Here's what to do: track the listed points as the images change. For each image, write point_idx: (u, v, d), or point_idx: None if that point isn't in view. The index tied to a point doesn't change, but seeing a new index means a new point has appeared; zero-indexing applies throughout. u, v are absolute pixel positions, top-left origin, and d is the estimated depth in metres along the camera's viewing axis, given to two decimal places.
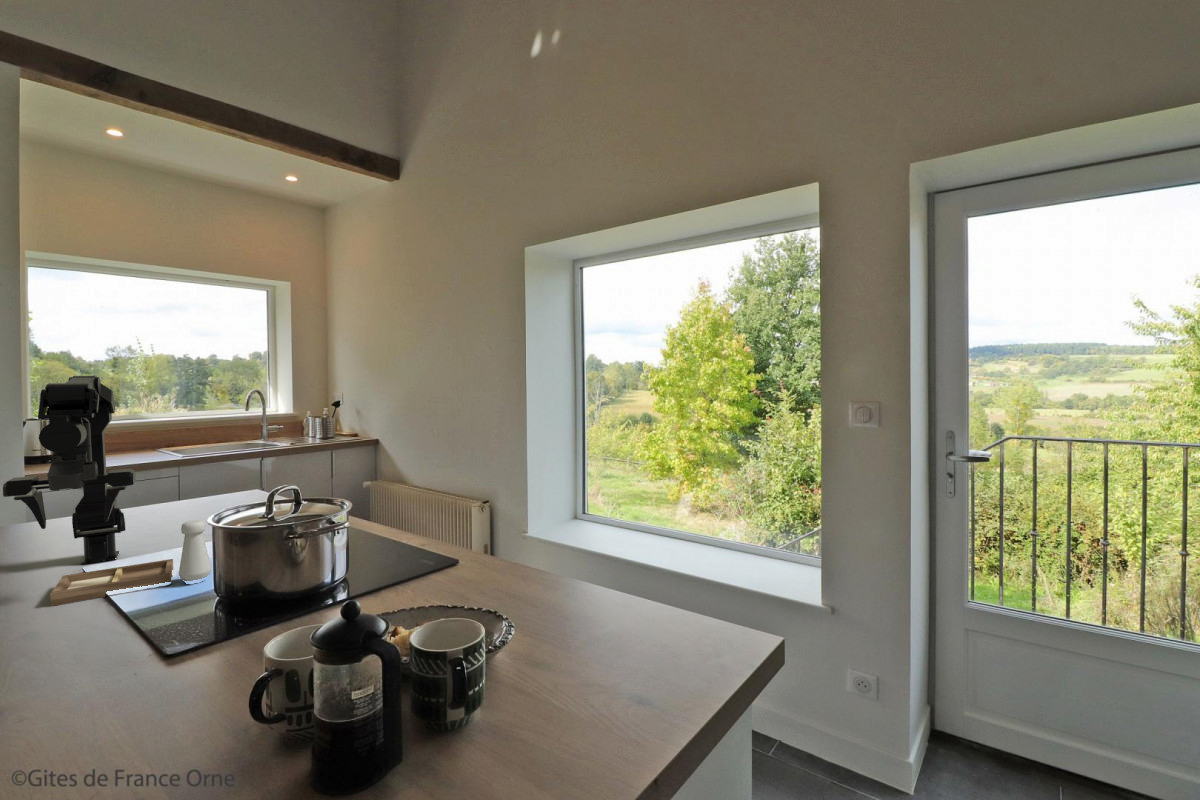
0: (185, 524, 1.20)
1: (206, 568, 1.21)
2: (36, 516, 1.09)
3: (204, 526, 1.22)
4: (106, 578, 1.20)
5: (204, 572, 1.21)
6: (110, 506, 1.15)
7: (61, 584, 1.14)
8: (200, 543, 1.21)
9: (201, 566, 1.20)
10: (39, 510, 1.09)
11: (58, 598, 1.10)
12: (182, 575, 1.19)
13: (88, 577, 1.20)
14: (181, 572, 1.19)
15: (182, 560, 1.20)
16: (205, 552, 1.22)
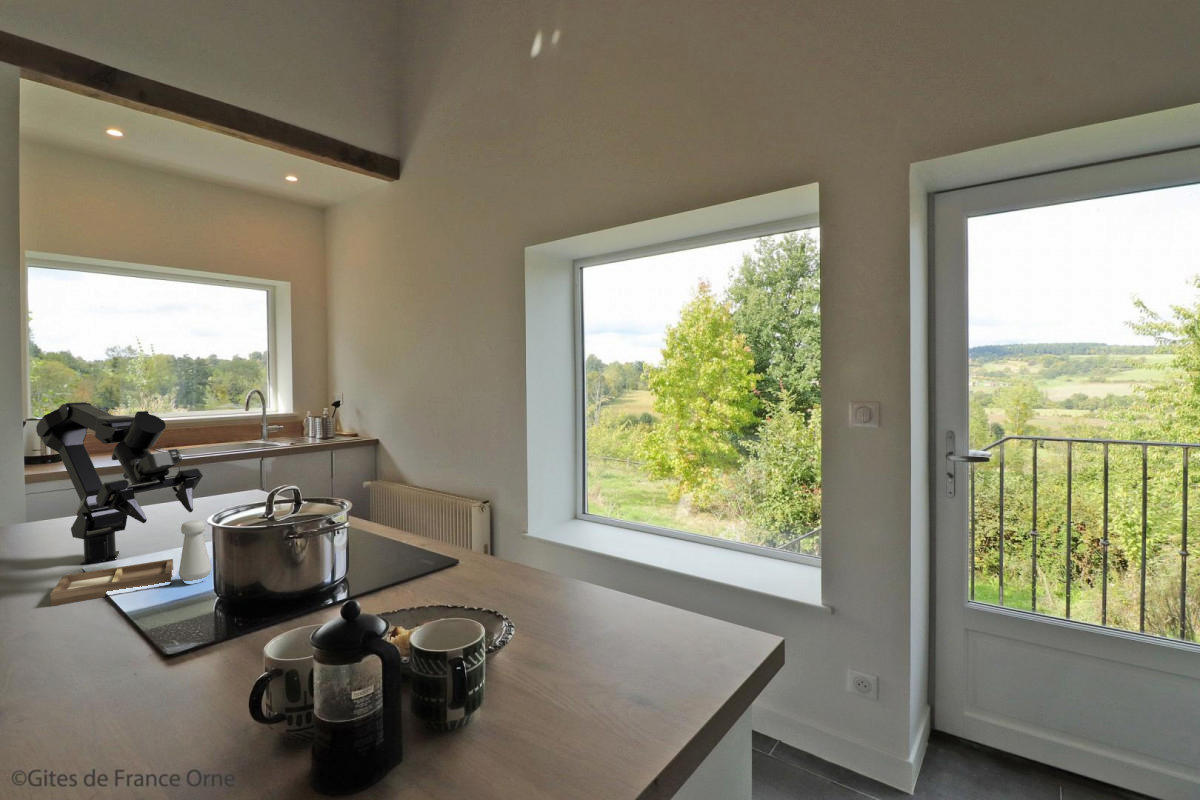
0: (185, 524, 1.20)
1: (206, 568, 1.21)
2: (137, 509, 1.20)
3: (203, 526, 1.22)
4: (106, 578, 1.20)
5: (204, 572, 1.21)
6: (191, 496, 1.30)
7: (61, 584, 1.14)
8: (200, 543, 1.21)
9: (201, 566, 1.20)
10: (138, 504, 1.21)
11: (58, 598, 1.10)
12: (182, 575, 1.19)
13: (88, 577, 1.20)
14: (181, 572, 1.19)
15: (182, 560, 1.20)
16: (205, 552, 1.22)
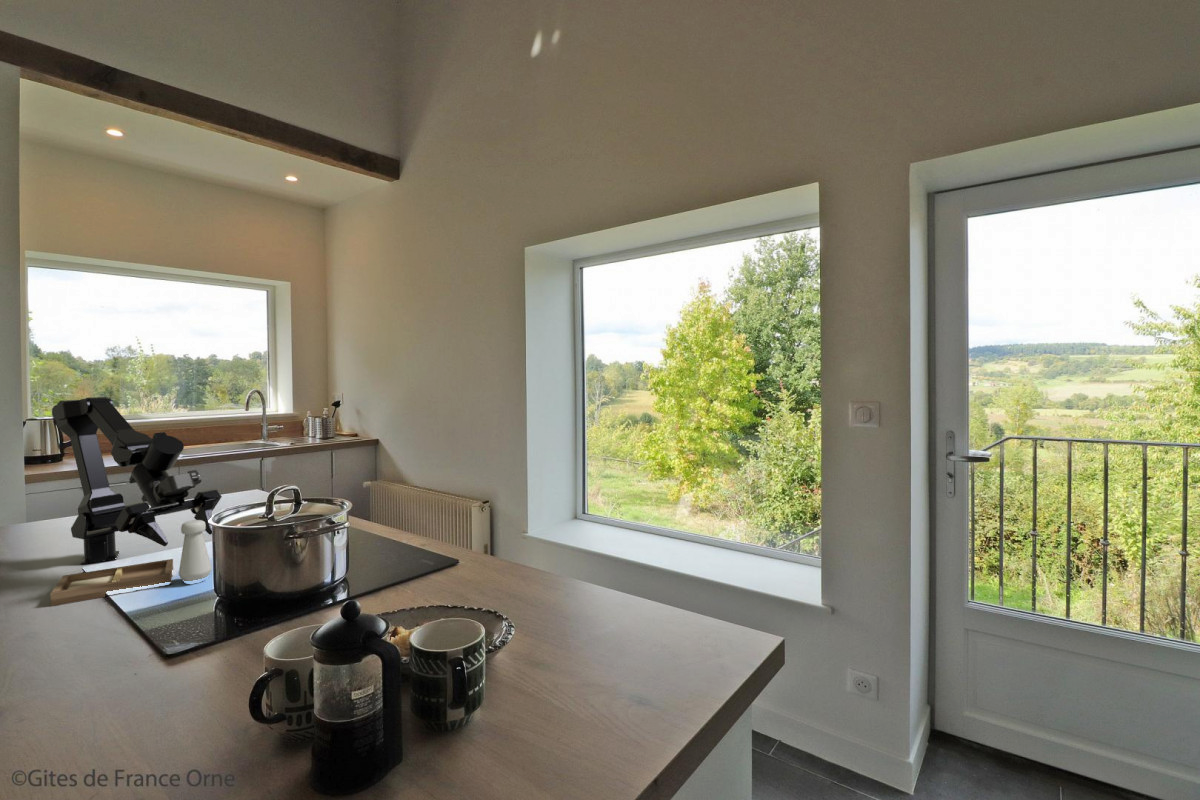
0: (185, 524, 1.20)
1: (206, 568, 1.21)
2: (158, 532, 1.18)
3: (203, 526, 1.22)
4: (106, 578, 1.20)
5: (204, 572, 1.21)
6: None
7: (61, 584, 1.14)
8: (200, 543, 1.21)
9: (201, 566, 1.20)
10: (158, 527, 1.18)
11: (58, 598, 1.10)
12: (182, 575, 1.19)
13: (88, 577, 1.20)
14: (181, 572, 1.19)
15: (182, 560, 1.20)
16: (205, 552, 1.22)
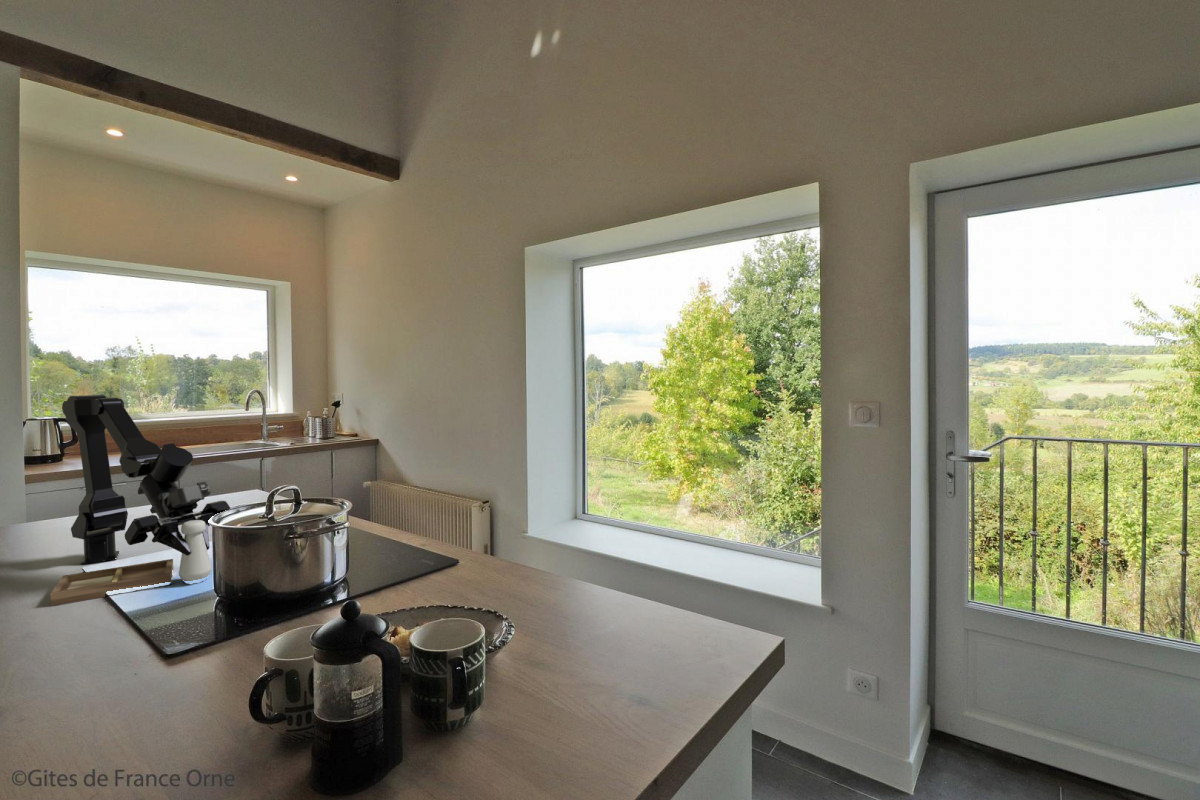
0: (185, 524, 1.20)
1: (206, 568, 1.21)
2: (181, 542, 1.19)
3: (203, 526, 1.22)
4: (106, 578, 1.20)
5: (204, 572, 1.21)
6: (207, 533, 1.24)
7: (61, 584, 1.14)
8: (200, 543, 1.21)
9: (201, 566, 1.20)
10: (182, 536, 1.20)
11: (58, 598, 1.10)
12: (182, 575, 1.19)
13: (88, 577, 1.20)
14: (181, 572, 1.19)
15: (182, 560, 1.20)
16: (205, 552, 1.22)
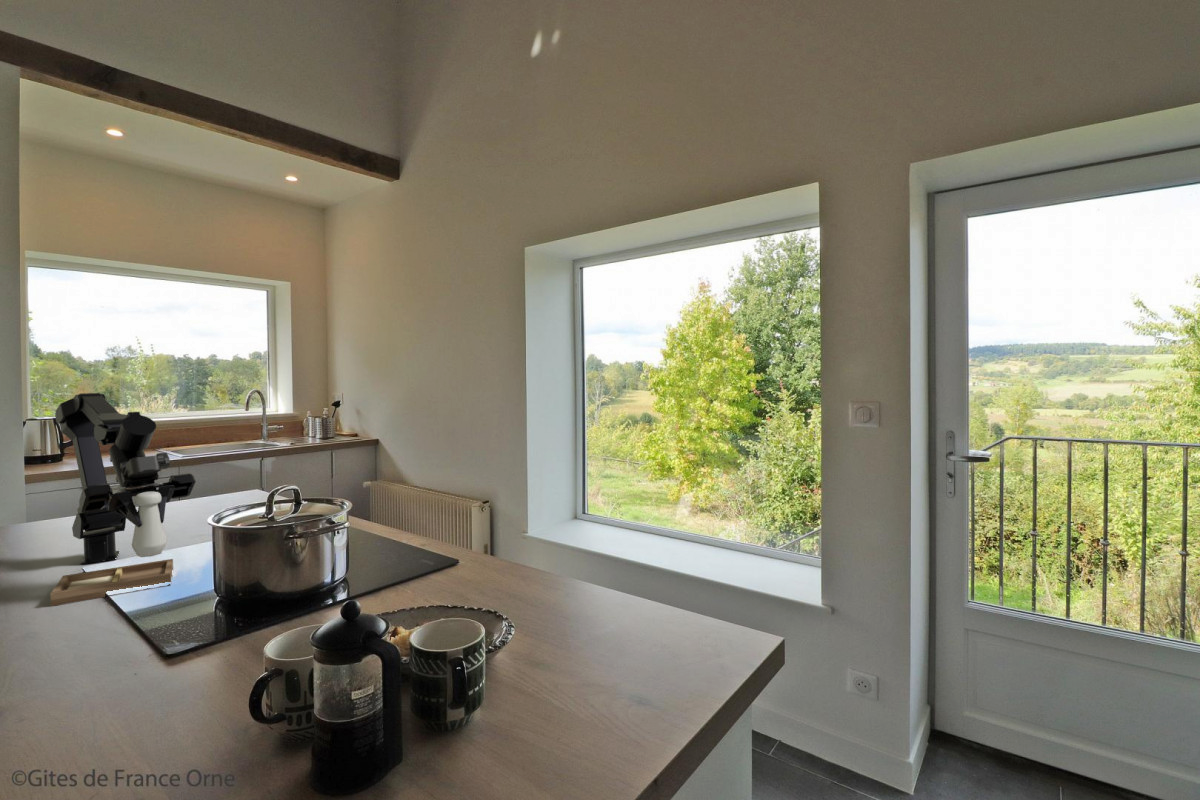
0: (138, 495, 1.16)
1: (158, 541, 1.17)
2: (133, 513, 1.16)
3: (157, 498, 1.18)
4: (106, 578, 1.20)
5: (156, 546, 1.17)
6: (164, 506, 1.20)
7: (61, 584, 1.14)
8: (153, 515, 1.17)
9: (152, 539, 1.17)
10: (135, 507, 1.17)
11: (58, 598, 1.10)
12: (133, 547, 1.16)
13: (88, 577, 1.20)
14: (133, 544, 1.16)
15: (134, 532, 1.17)
16: (158, 525, 1.18)
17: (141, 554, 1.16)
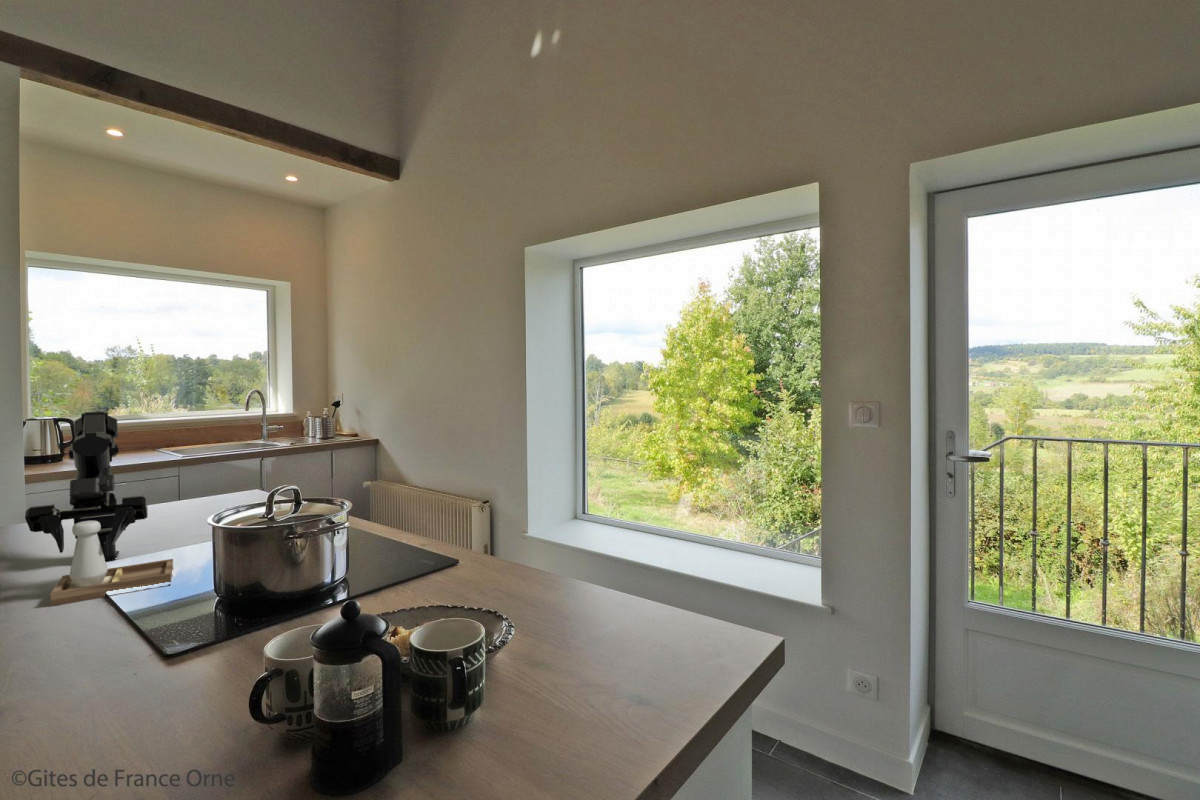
0: (75, 524, 1.15)
1: (90, 573, 1.15)
2: (56, 537, 1.13)
3: (91, 528, 1.15)
4: (106, 578, 1.20)
5: (87, 578, 1.14)
6: (117, 528, 1.19)
7: (61, 584, 1.14)
8: (87, 546, 1.15)
9: (83, 570, 1.14)
10: (60, 532, 1.14)
11: (58, 598, 1.10)
12: None
13: None
14: (70, 573, 1.15)
15: None
16: (93, 556, 1.15)
17: (75, 584, 1.15)
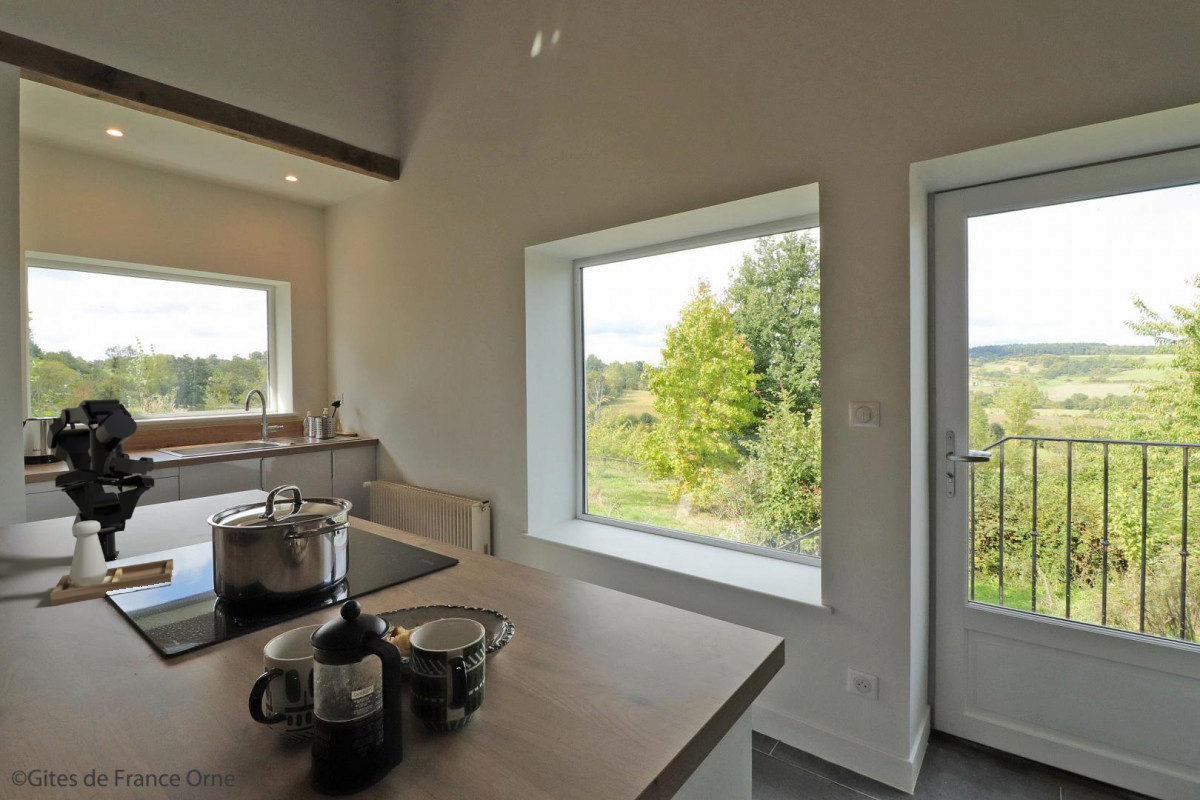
0: (75, 524, 1.15)
1: (90, 573, 1.15)
2: (90, 504, 1.22)
3: (91, 528, 1.15)
4: (106, 578, 1.20)
5: (87, 578, 1.15)
6: (135, 505, 1.32)
7: (61, 584, 1.14)
8: (87, 546, 1.15)
9: (83, 570, 1.14)
10: (93, 499, 1.22)
11: (58, 598, 1.10)
12: None
13: None
14: (70, 573, 1.15)
15: None
16: (93, 556, 1.16)
17: (75, 584, 1.15)
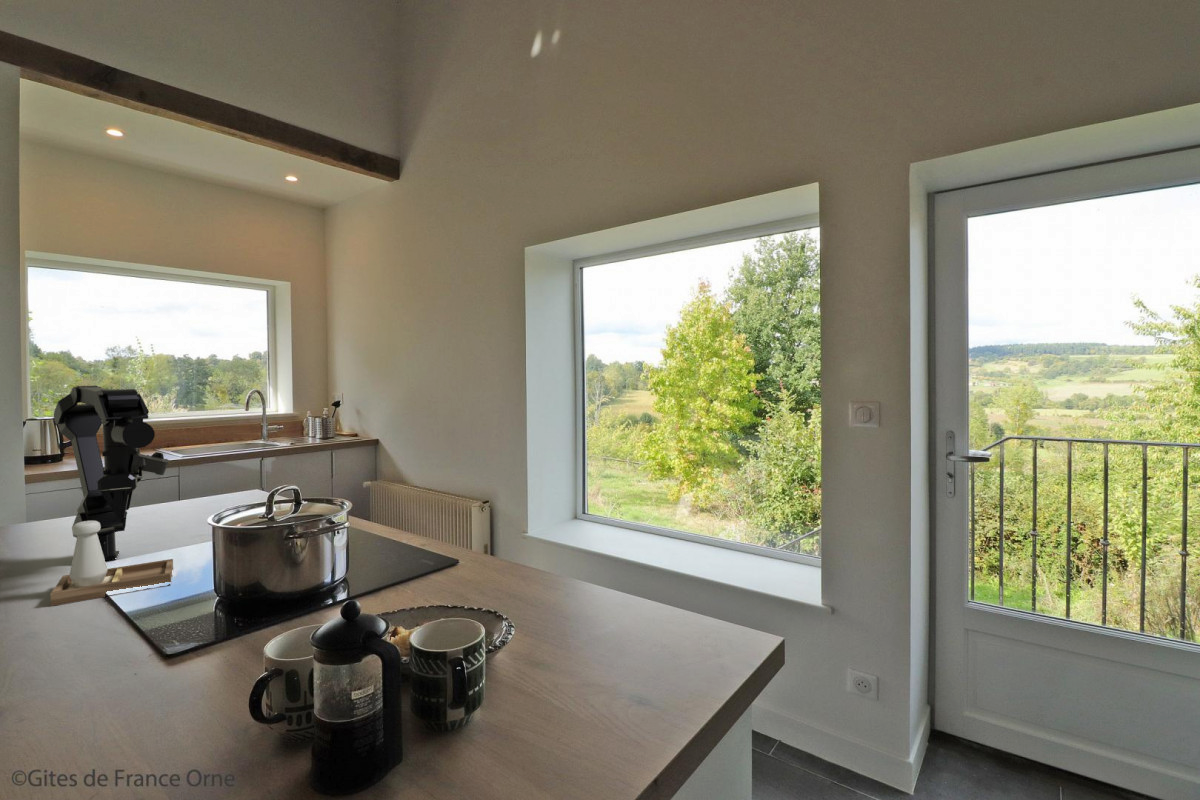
0: (75, 524, 1.15)
1: (90, 573, 1.15)
2: (126, 506, 1.24)
3: (91, 528, 1.15)
4: (106, 578, 1.20)
5: (87, 578, 1.15)
6: (131, 495, 1.33)
7: (61, 584, 1.14)
8: (87, 546, 1.15)
9: (83, 570, 1.14)
10: (127, 500, 1.24)
11: (58, 598, 1.10)
12: None
13: None
14: (70, 573, 1.15)
15: None
16: (93, 556, 1.16)
17: (75, 584, 1.15)
